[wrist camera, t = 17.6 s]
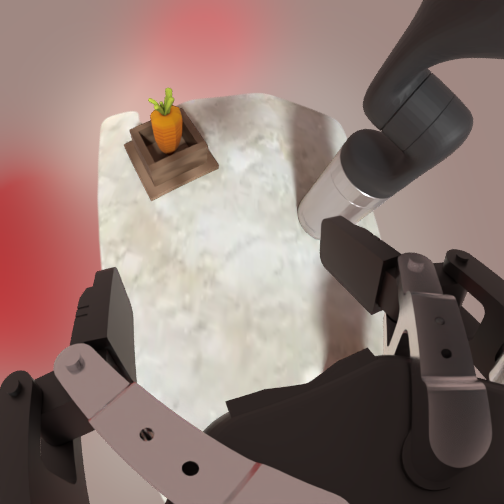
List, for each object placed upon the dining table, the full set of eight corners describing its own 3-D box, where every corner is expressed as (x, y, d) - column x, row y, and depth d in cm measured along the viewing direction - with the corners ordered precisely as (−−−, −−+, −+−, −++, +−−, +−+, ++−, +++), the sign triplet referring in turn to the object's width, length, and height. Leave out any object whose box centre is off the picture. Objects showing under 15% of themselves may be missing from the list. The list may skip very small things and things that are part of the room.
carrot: (166, 171, 47) (158, 112, 33) (151, 153, 47) (139, 93, 33) (189, 156, 48) (189, 95, 34) (173, 139, 49) (169, 78, 35)
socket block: (186, 120, 51) (186, 99, 46) (218, 168, 50) (221, 149, 44) (124, 147, 48) (118, 128, 42) (151, 201, 46) (145, 184, 40)
